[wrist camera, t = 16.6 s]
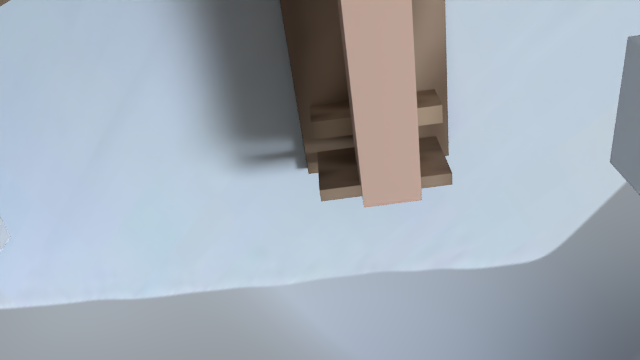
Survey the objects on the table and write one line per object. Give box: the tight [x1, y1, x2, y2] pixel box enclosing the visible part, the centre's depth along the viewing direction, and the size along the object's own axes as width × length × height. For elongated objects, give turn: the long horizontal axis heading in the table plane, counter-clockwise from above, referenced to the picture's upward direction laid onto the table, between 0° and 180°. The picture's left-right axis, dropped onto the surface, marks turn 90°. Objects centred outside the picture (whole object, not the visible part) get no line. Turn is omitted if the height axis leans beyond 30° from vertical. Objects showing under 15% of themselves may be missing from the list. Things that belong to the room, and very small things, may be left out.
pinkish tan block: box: [337, 0, 422, 207], centre depth 40 cm, size 4×16×7 cm, turn 7°
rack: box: [280, 0, 452, 201], centre depth 44 cm, size 12×22×7 cm, turn 8°
